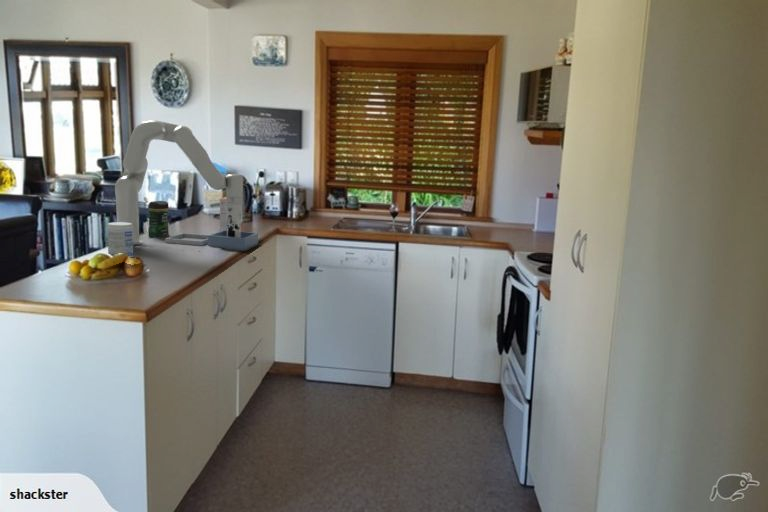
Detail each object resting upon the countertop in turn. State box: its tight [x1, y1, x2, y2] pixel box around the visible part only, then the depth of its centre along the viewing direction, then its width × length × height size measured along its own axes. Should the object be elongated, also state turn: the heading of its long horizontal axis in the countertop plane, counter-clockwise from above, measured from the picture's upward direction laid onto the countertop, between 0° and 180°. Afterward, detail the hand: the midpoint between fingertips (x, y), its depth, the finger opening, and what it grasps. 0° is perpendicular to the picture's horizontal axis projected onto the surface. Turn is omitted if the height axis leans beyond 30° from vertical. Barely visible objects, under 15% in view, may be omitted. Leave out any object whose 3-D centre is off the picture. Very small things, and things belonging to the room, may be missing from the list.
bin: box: [207, 230, 259, 252], centre depth 293 cm, size 18×18×6 cm
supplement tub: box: [107, 221, 134, 257], centre depth 251 cm, size 10×10×15 cm
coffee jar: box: [147, 200, 170, 239], centre depth 303 cm, size 10×8×19 cm
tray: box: [164, 232, 209, 247], centre depth 295 cm, size 18×18×3 cm
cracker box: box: [219, 196, 233, 231], centre depth 317 cm, size 14×6×21 cm, turn 177°
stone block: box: [227, 229, 242, 238], centre depth 293 cm, size 5×5×6 cm
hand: (233, 237), depth 293 cm, fingers open, 5 cm apart
